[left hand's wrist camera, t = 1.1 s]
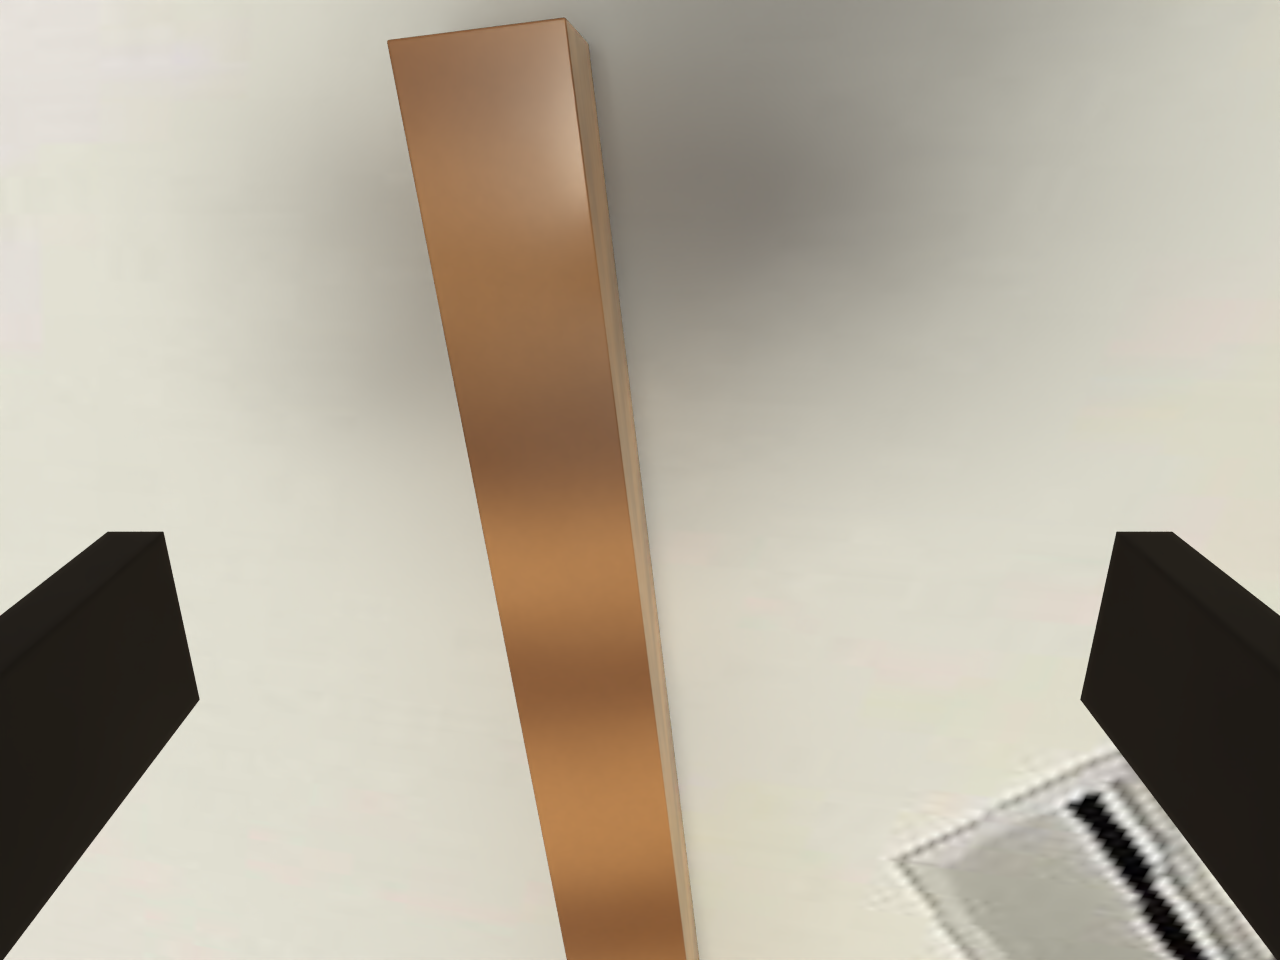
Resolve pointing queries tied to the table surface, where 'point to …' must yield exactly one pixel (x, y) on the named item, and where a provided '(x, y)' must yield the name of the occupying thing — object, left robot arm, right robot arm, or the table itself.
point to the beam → (554, 462)
